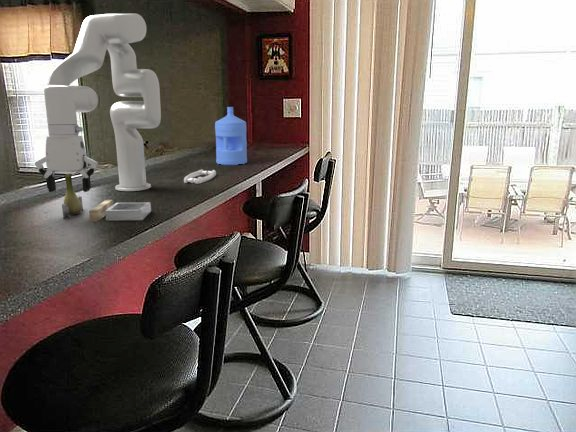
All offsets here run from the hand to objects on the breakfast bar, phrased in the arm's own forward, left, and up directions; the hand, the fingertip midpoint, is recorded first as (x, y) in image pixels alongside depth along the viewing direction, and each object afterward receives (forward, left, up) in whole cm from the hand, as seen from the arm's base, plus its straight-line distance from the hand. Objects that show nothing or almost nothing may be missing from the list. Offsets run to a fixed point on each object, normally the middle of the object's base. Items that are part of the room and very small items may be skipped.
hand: (69, 191), depth 134 cm
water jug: (-103, +39, -7) cm, 110 cm away
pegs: (-1, 0, -7) cm, 7 cm away
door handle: (-59, +29, -8) cm, 66 cm away
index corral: (+2, +17, -7) cm, 19 cm away
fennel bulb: (-1, 0, -7) cm, 7 cm away
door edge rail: (+1, +9, -7) cm, 11 cm away
